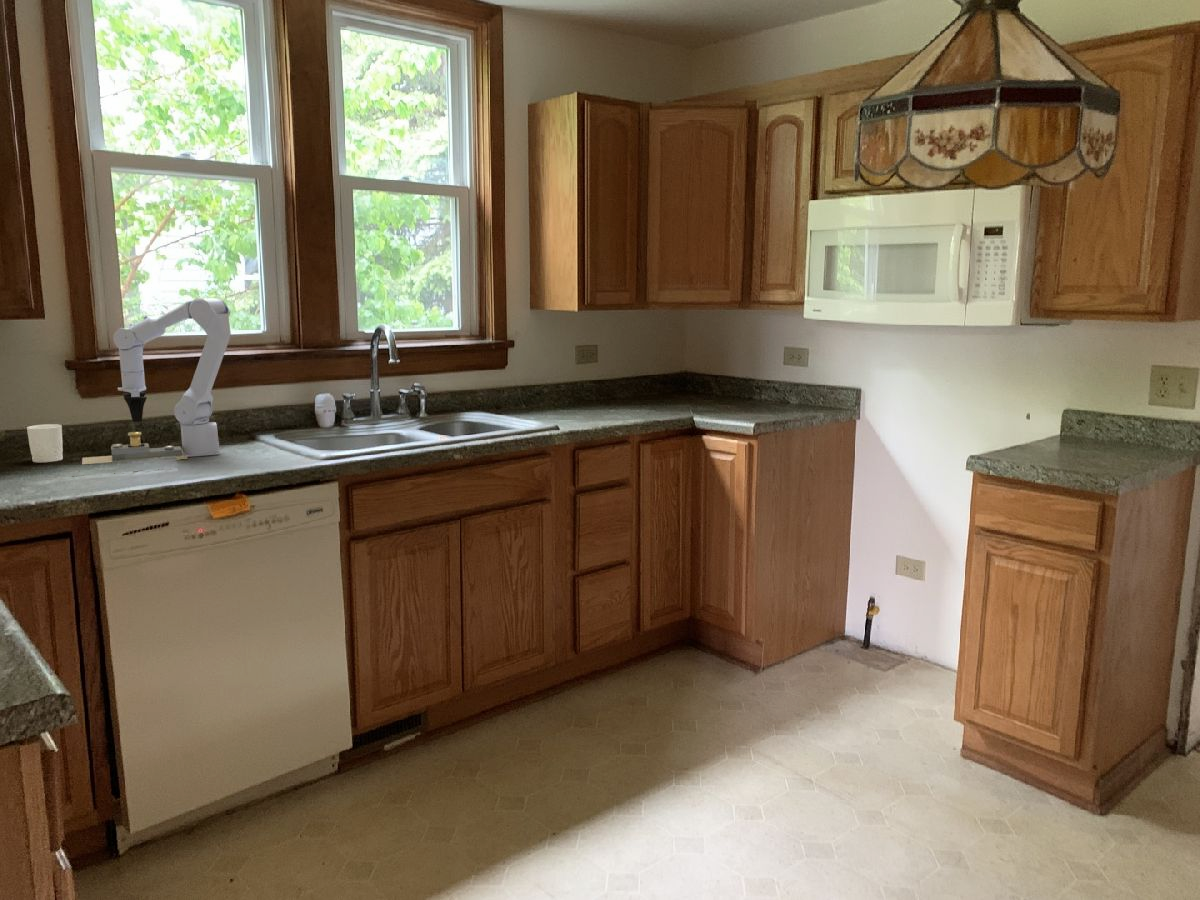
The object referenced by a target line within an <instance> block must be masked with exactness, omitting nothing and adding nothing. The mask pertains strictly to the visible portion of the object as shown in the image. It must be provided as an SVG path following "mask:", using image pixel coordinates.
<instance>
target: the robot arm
mask: <svg viewBox="0 0 1200 900" xmlns="http://www.w3.org/2000/svg"><path fill="white" fill-rule="evenodd" d="M231 312H232V311H231V310H230V308H229V306H228V305H227V303H226V302H225V300H223V299H221V298H220V297H213V298H212V297H211V298H203V297H199V298H198V297H197V298H194V299H193V300H189V301H186V302H184V303H183V304H180V305H179V306H177V307H176V308H173V309H171V310H170V311H168V312H166V313H164V314H163V315H161V316H159V317H158V316H155V315H145V316H143V319H142V320H140V321H138V322H137V323H134V322H132V323H130V324H129V326H128V327H127V328H126V327H125V328H124V327H120V328H118V329H117V330H116V331H115V332H114V334H113V336H112V338H113V339H112V340H113V344H114V345H115V346H116V347H117V348H118V352H119V353H118V354H119V366H120V374H121V376H120V377H121V384H122V385H121V386H122V387H117V391H119V392H127V393H123V394H122V396H123V400H124V401H125V403H126V404H127V407H128V409H129V412H130V417H131V419H132V423H140V422H141V423H142V421H143V416H144V415H143V414H144V407H145V403H146V401H147V397H148V396H146V392H145V391H147V386H146V380H145V379H146V378H145V369H144V356H143V353H144V346H145V345H146V344H147V343H149V342H151V341H153V340H155V339H157V338H159V337H161V336H163V335H165V333H166V329H167V328H170V327H172V326H174V325H176V324H179V323H180V322H183V321H185V320H186V321H187V320H189V319H193V320H194V321H195V323H197V324H198V325H199V326H200V327H201V329H202V330H204V332H205V334H206V335H207V336H206V341H205V343H204V346H203V349H202V352H201V355H200V357H199V360H198V363H197V366H196V369H195V372H194V374H193V378H192V380H191V383H190V386H189V388H188V389H187V390H186V391H185V392H184V393H183V395H182V396H181V399H180V401H178V402H177V403H176V404H175V406H174V409H173V414H174V418H176V420H177V421H178V423H179V425H180V434H181V448H182V450H183V452H184V453H186V454H187V458H188V457H189V458H191V457H202V456H216V455H220V442H219V435H218V432H219V431H218V424H217V422H215V421H211V422H210V417H211V416H212V414H213V409H214V408H213V401H214V396H213V395H212V393H211V392H212V389H213V387H214V383H215V381H216V378H217V376H218V372H219V370H220V367H221V364H222V362H223V358H224V356H225V352H226V350H227V347H228V345H229V342H230V339H231V334H232V333H231V324H230V315H231Z"/></svg>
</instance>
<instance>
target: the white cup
mask: <svg viewBox="0 0 1200 900" xmlns="http://www.w3.org/2000/svg"><path fill="white" fill-rule="evenodd" d="M26 430H27V433H26V434H27V438H28V444H29V449H30V455H31V457H32V462H33V463H51V462H58V461H62V460H64V459H63V451H64V449H63V426H62V424H57V423H52V424H51V423H50V424H49V423H47V424H35V425H31V426H27V427H26Z"/></svg>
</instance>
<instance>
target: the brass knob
mask: <svg viewBox="0 0 1200 900" xmlns="http://www.w3.org/2000/svg"><path fill="white" fill-rule="evenodd" d="M141 435H142V431H129V432H127V436H129V440H130V441H129V444H131V447H141V444H142V443H141Z"/></svg>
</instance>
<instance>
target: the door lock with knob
mask: <svg viewBox="0 0 1200 900" xmlns="http://www.w3.org/2000/svg"><path fill="white" fill-rule="evenodd" d="M149 445H150V444H149V442H148V443H147V442H145V443H141V447H131V443H129V444H122V443H114V444H112V445H110V449H111V455H101V456H89V457H87V456H86V457H82V459H81V465H92V464H104V463H115V462H117V463H118V462H128V461H129V462H130V461H140V460H153V459H169V458H170V459H171V458H175V460H176V461H181V460H180V459H188V457H187V454H186V453H184V452H183V449H182V445H181V446H179V445H178V446H174V445H165V446H164V447H151V448H150V446H149ZM188 460H189V459H188Z"/></svg>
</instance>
